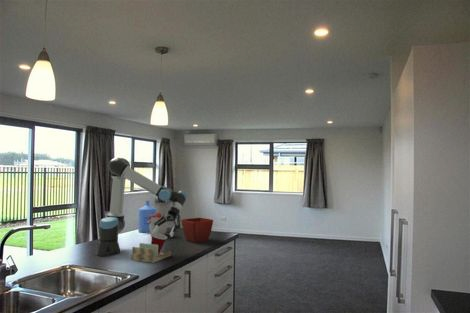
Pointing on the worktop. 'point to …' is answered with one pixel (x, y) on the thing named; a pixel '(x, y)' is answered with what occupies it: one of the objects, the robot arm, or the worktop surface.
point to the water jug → (145, 217)
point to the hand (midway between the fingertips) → (162, 235)
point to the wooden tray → (147, 255)
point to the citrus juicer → (151, 222)
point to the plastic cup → (158, 240)
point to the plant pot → (197, 229)
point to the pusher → (150, 246)
